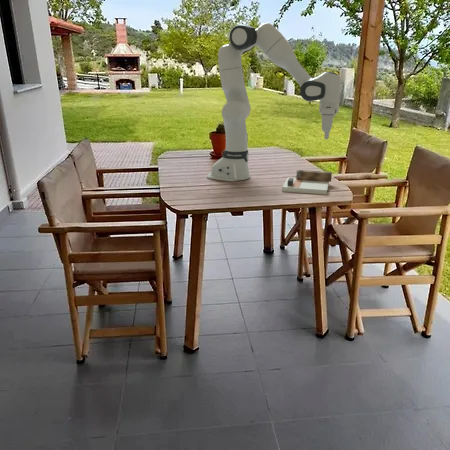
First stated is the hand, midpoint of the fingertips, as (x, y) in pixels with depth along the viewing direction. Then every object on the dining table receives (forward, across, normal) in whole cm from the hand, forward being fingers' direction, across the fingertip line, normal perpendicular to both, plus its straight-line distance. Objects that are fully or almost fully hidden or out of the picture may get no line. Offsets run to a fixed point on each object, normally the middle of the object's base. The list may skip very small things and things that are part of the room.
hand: (326, 138), depth 194 cm
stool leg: (+19, +6, -4) cm, 20 cm away
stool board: (+21, +13, -7) cm, 26 cm away
